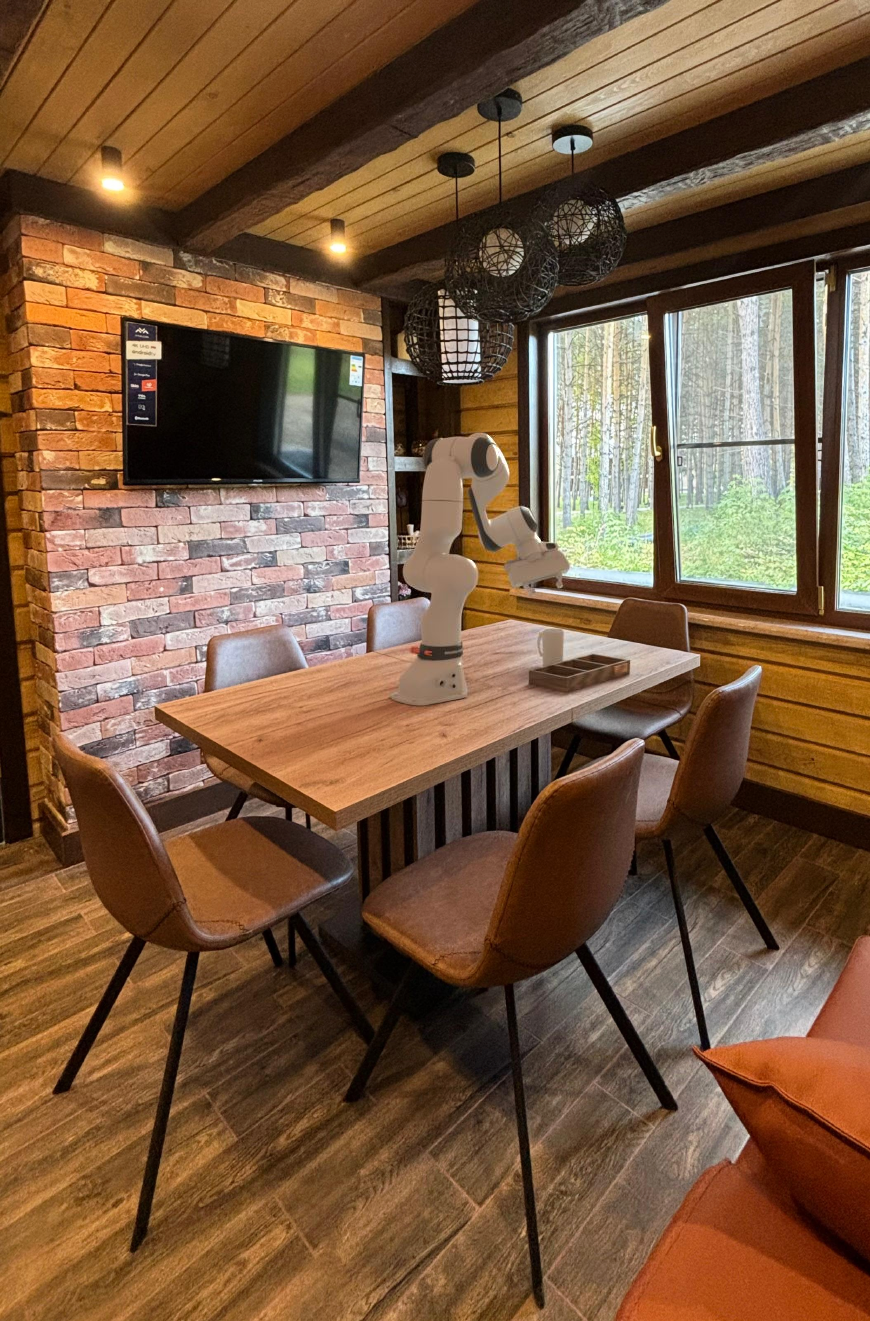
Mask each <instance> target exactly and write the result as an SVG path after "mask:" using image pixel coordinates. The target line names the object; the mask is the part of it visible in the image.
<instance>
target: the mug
mask: <svg viewBox="0 0 870 1321" xmlns="http://www.w3.org/2000/svg"><path fill="white" fill-rule="evenodd" d="M564 641H565V630H564V629H562V628H544V629H542V631H539V634H538V636H537V640H536V644H537V651H538V654H539V657H541V658H542V667H543V666H547V665H550V664H554V663H558V662H562V661H564V649H565V648H564V647H565V646H564V644H565V642H564ZM541 643H542V646H541Z"/></svg>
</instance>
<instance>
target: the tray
mask: <svg viewBox="0 0 870 1321" xmlns="http://www.w3.org/2000/svg"><path fill="white" fill-rule="evenodd" d="M630 674H631V660H630V659H626V658H621V657H614V656H608V655H603V654H599V653H598V654H597V653H590V654H586V655H581V656H578V657H573V658H570V659H566V660H563V661H562V662H558V663H554V664H550V665H547V666H543V665H542V666H539V667H536V668H532V669H529V670H528V685H531V686H535V687H540V688H544V689H548V688H549V689H548V690H554V691H557V690H558V692H561V691H562V693H566V692H567V693H570V691H571V692H573V691H572V690H574V691H577V690H580V689H579V688H581V689H584V688H587V687H590V686H593V685H592V684H594V685H596V684H595V683H597V684H599V682H600V683H603V681H604V682H606V681H610V680H613V679H616V678H620V677H624V676H626V675H630ZM586 686H587V687H586ZM583 687H584V688H583ZM576 689H577V690H576Z"/></svg>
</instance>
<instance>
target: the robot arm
mask: <svg viewBox="0 0 870 1321" xmlns="http://www.w3.org/2000/svg"><path fill="white" fill-rule="evenodd" d="M422 463H423V467H424V469H425V470H426V471H425V474H424V480H423V486H422V497H421V517H420V519H421V520H420V528H419V529H420V530H419V534H418V538H417V541H416V544H415V547H414V550H413V552H412V553H411V554H410V556H408V558H407V559H406V560H405V562H404V564H403V566H402V567H403V568H402V576H403V579H404V581H405V583H406V584H407V585H408V586H410V587H412V588H413V589H415V590H417V591H420V592H424V593H431V597H430V602H429V605H428V608H426V609H425V611H424V612H423V613H422V614H421V617H420V628H421V629H420V631H421V642H420V644H419V647H418V646H411V647H410V649H409V652H410V653H411V654H413V655H416V657H417V658H415V660H414V661H413V662H412V663H411V664H410V665H409V666H408V667H407V668H406V669H405V670H404V672H402V674H401V675H400V677H399V681H398V690H396V691H393V692H391V693H390V699H392V700H393V701H394V702H395V701H396V702H398V703H401V704H406V705H410V706H411V705H412V706H421V707H422V706H428V705H433V704H438V703H443V702H449V701H454V700H458V699H459V700H460V699H465V698H468V692H469V689H468V686H467V683H466V678H465V672H464V665H463V655H464V644H463V642H462V613H463V609H464V605H465V603H466V600H467V597H468V596H469V595H470V594H471V592H473V590H474V589H475V588H476V586H477V584H478V581H479V569H478V566H477V565H476V564H475V562H474V561H473V560H471V559H469V558H467V557H465V556H463V555H459V554H453V553H452V554H451V553H450V550H451V547H452V544H453V543H454V540H455V539H456V538H457V537H458V536H460V534H461V531H462V529H463V511H464V510H463V508H464V506H463V505H464V485H463V484H464V482H463V479H471V485H470V486H469V488H468V490H467V492H468V493H467V494H468V496H467V497H468V499H469V503H470V507H471V510H472V514H473V517H474V521H475V524H476V526H477V533H478V534H477V535H478V539H479V541H480V544H481V545H482V548H484V549H485V550H486V551H489V552H493V553H497V552H498V551H499V550H502V549H503V548H504V547H506V546H508V545H511V544H513V545H514V550H515V554H516V555H517V557H516V558H513V559H508V560H507V561H506V562H505V563H504V564H503V567H504V570H505V572H506V573H507V576H508V579H509V583H510V586H511V587H512V588H514V589H515V588H519V587H523V589H524V590H526V591H527V592H528V593H529V596H530V597H534V596H536V594H537V591H536V589H535V588H532V587H531V586H529V585H530V584H533V583H537V582H540V581H543V580H546V579H550V578H554V577H555V578H556V579H557V580H558V581H556V583H555V586H556V587H557V589H561V588H563V587H564V585H563V582H562V581H563V575H565V574H567V573H568V572H569V570H570V567H571V565H570V562H569V560H568V558H567V556H566V555H565V553H564V552H563V551H562V550H560V549H559V548H560V545H559V543H557V542H552V541H551V542H548V541H547V542H546V541H541V538H539V536H538V534H537V530H538V523H537V521H536V518H535V516H534V514H533V510H531V508H528V507H527V506H526V507H525V506H524V505H520V506H516V507H512V508H510V509H509V510H507V511H506V512H504V513H501V514H500V515H497V516H496V517H493V518H488V515H487V511H486V509H487V507H488V505H489V504H490V503H491V502H492V501H493V500H494V499H495V498H496V497H497V496H499V495H500V494H501V493H502V492H503V491H504V489H505V488H506V487H507V484H508V482H509V481H510V480H509V478H510V469H509V466H508V462H507V460H506V458H505V456H504V455H503V453H502V451H501V449H500V448H499V446H498V445H497V443H496V442H495V441H494V439H493V438H492V437H491V436H490V435H488V434H487V433H485V432H475V433H472V434H470V435H469V436H452V437H451V436H450V437H445V438H443V437H439V438H435V439H432V440H430V441H429V442H428V443H427V444H426V445H425V448H424V449H423V453H422Z"/></svg>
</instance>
